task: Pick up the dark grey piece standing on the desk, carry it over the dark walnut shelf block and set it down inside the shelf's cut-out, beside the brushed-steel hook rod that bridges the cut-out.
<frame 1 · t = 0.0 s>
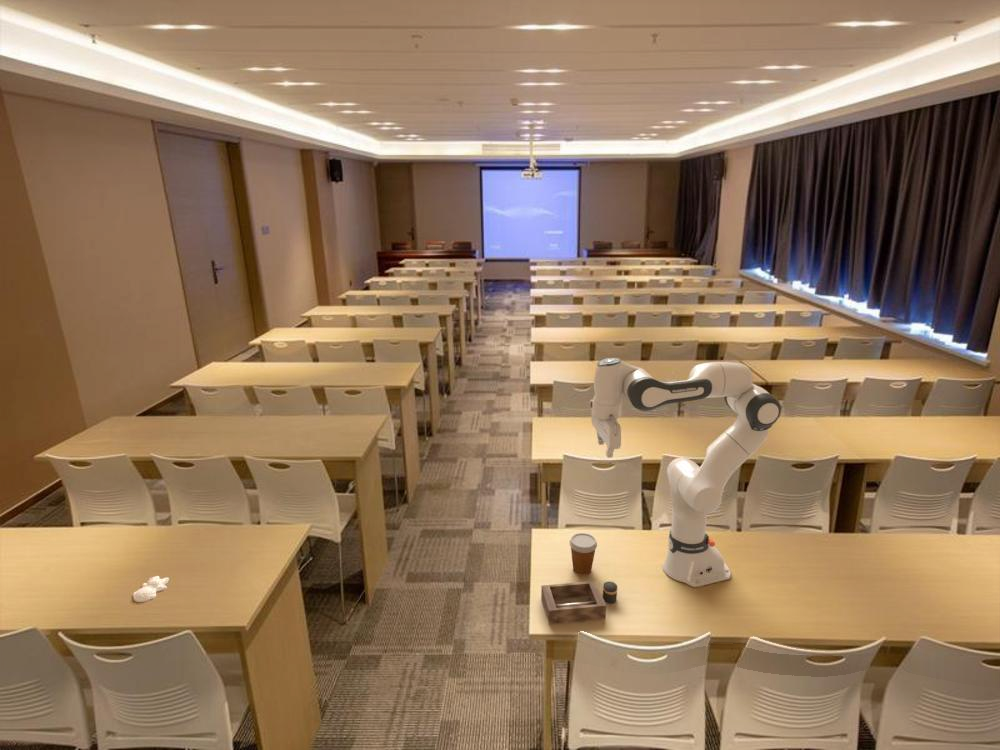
hand: (604, 450, 192), 48 cm above the table, fingers open, 8 cm apart
shelf block: (572, 608, 193), on the table
dark grey piece: (609, 598, 197), on the table
hook rod: (574, 613, 190), resting in shelf block
disposable coffee cup: (582, 570, 212), on the table
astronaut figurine: (152, 591, 203), on the table
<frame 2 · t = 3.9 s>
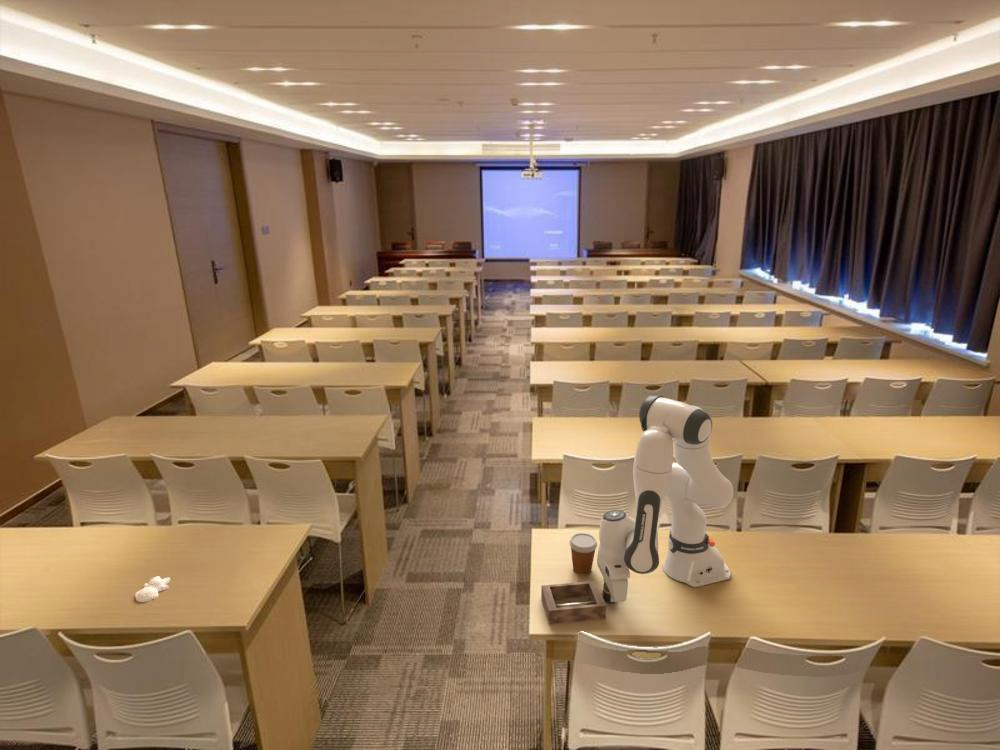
hand: (609, 594, 197), 2 cm above the table, fingers closed on dark grey piece, 4 cm apart
dark grey piece: (609, 598, 197), on the table, touching gripper
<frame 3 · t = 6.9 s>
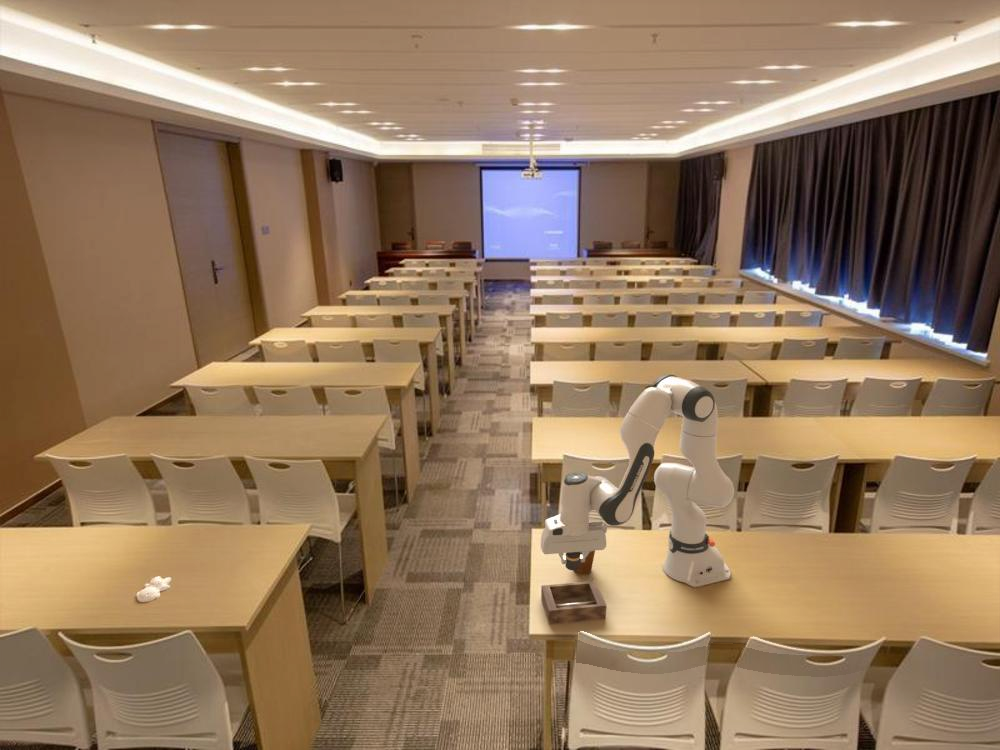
hand: (572, 562, 189), 16 cm above the table, fingers closed on dark grey piece, 4 cm apart
dark grey piece: (572, 566, 190), point 14 cm above the table, touching gripper
when the fingers open (3 cm above the table, at t = 9.9 s): dark grey piece drops 2 cm, resting in shelf block.
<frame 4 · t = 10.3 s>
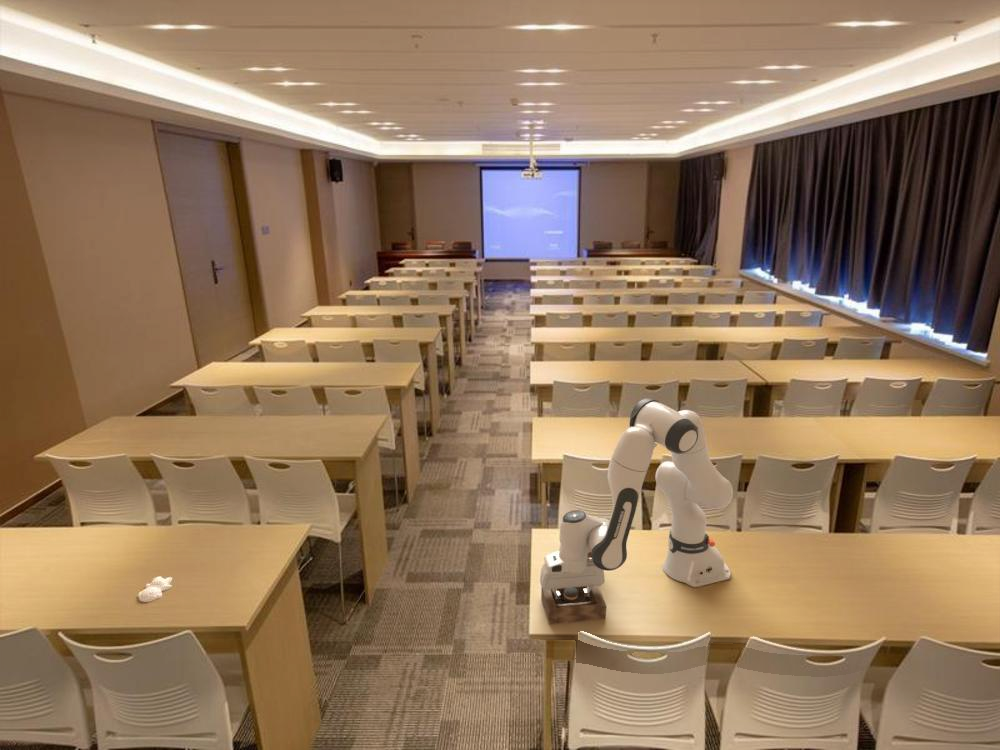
hand: (571, 596, 193), 3 cm above the table, fingers open, 8 cm apart
dark grey piece: (570, 604, 195), resting in shelf block
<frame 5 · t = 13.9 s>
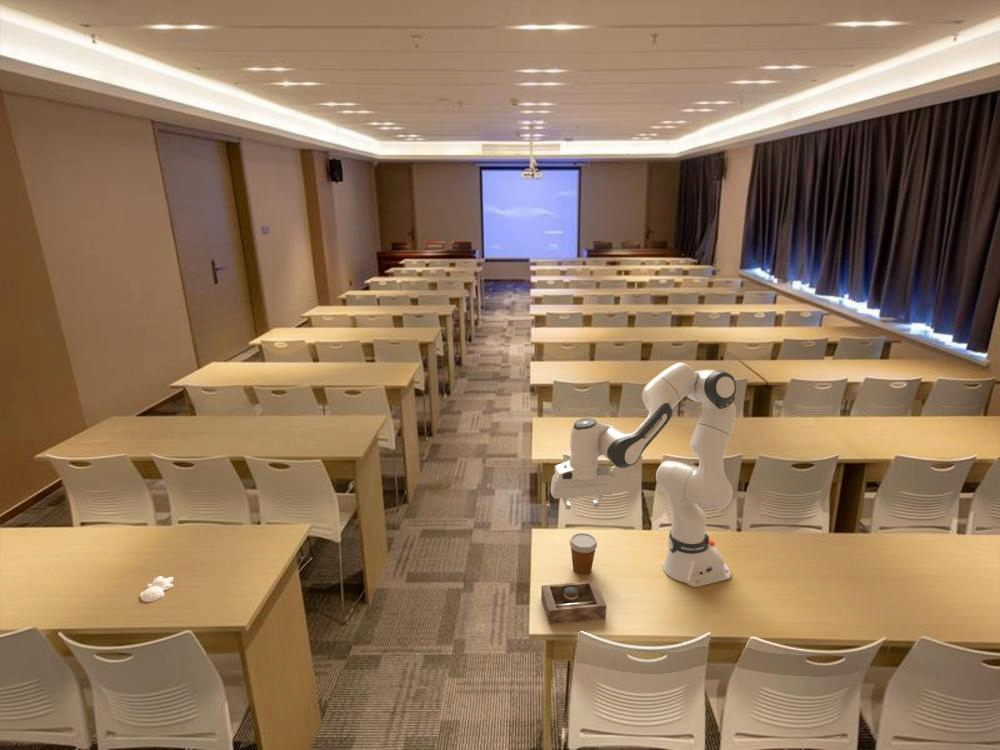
hand: (581, 507, 195), 29 cm above the table, fingers open, 8 cm apart
at the end: dark grey piece inside the target area on the shelf block (0.4 cm from its centre), point 0.0 cm above the shelf block's base; dark grey piece tilted 0°; the gripper is holding nothing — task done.
